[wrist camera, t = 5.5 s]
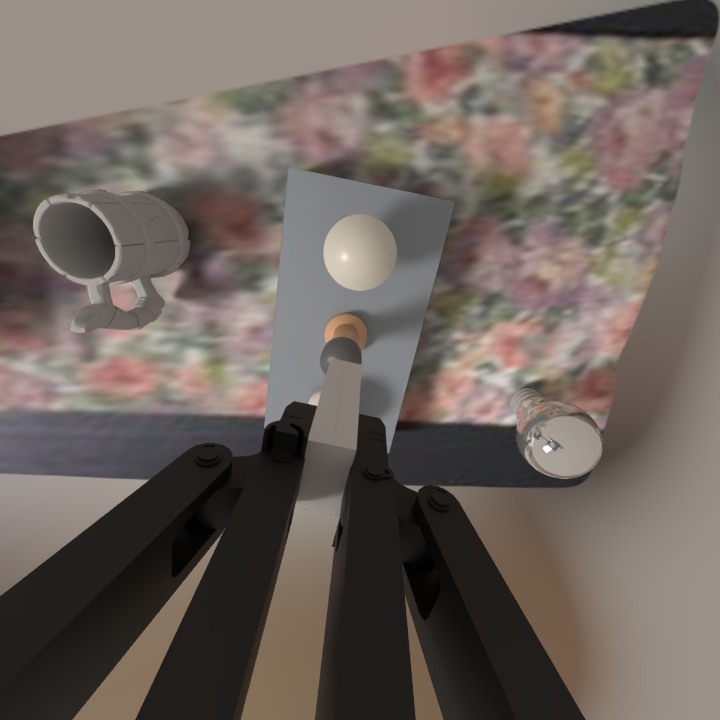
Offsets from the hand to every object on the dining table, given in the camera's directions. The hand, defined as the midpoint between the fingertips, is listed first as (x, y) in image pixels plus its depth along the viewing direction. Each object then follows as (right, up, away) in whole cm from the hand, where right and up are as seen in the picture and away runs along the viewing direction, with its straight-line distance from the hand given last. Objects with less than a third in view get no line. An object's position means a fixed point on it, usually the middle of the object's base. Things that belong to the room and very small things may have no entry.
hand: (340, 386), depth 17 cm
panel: (0, +5, +20) cm, 21 cm away
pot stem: (0, +4, +16) cm, 17 cm away
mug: (-19, +12, +18) cm, 29 cm away
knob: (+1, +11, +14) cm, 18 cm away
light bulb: (+19, -3, +23) cm, 30 cm away
